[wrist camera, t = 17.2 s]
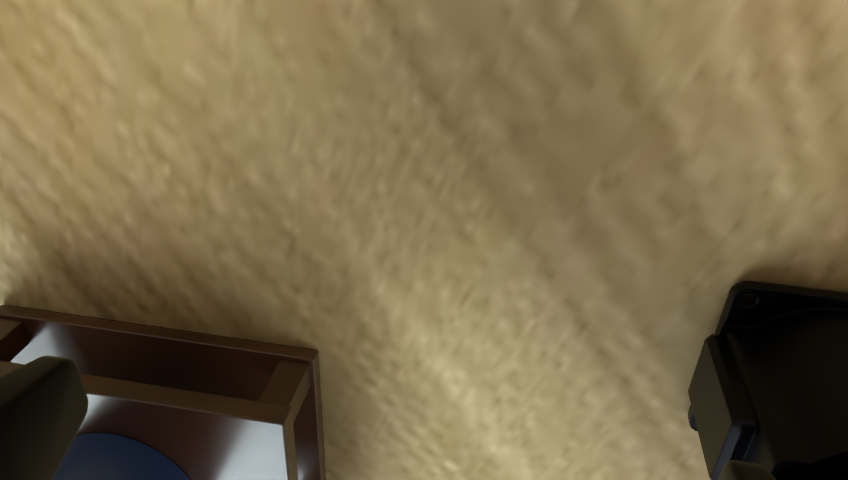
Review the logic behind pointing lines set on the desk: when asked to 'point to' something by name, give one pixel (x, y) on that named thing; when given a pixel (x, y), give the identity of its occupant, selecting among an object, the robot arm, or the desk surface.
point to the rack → (185, 392)
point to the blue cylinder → (115, 460)
